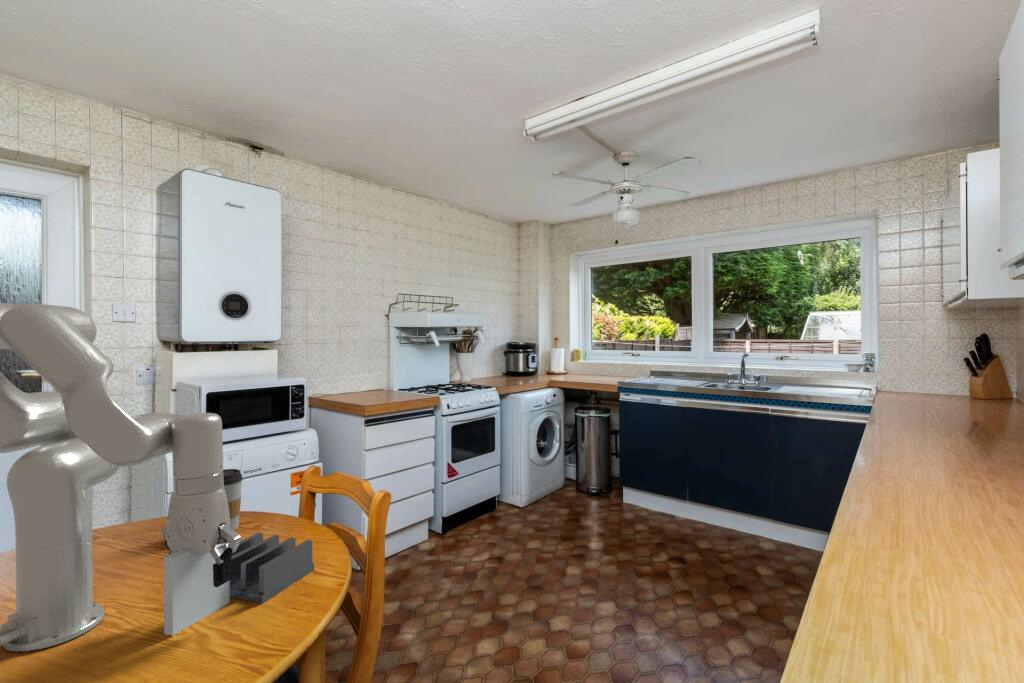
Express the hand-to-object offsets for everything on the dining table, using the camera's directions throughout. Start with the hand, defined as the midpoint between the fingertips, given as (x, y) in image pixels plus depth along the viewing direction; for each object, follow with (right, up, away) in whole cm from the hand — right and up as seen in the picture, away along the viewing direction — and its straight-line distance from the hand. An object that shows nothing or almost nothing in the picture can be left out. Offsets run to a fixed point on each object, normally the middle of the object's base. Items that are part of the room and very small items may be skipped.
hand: (201, 579), depth 86 cm
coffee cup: (-19, -7, +39) cm, 45 cm away
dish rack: (+4, -7, +13) cm, 15 cm away
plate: (-1, -7, 0) cm, 7 cm away
